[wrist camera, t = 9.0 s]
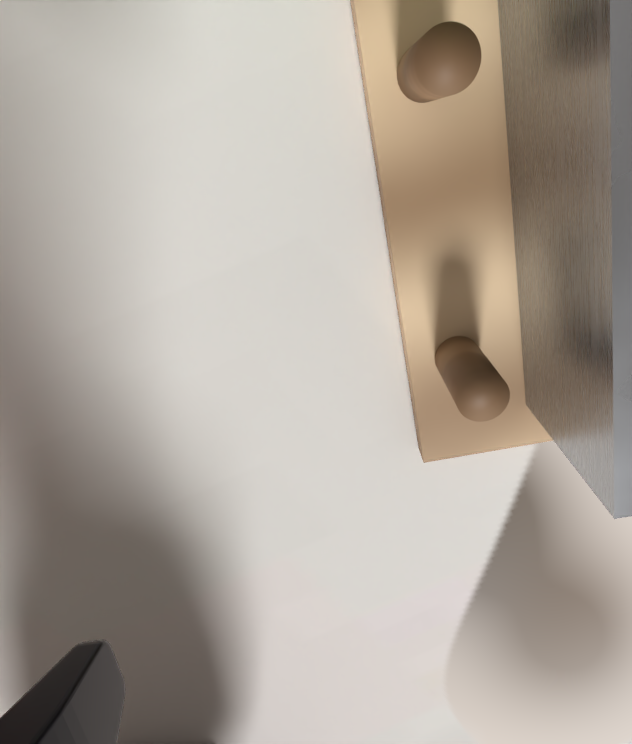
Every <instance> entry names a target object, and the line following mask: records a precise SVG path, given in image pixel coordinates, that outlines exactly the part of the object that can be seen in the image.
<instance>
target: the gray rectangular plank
mask: <svg viewBox="0 0 632 744" xmlns="http://www.w3.org/2000/svg"><path fill="white" fill-rule="evenodd" d="M498 15H499V29H500V43H501V57H502V72H503V86H504V100H505V114H506V129H507V143H508V157H509V171H510V186H511V200H512V214H513V228H514V243H515V257H516V271H517V285H518V300H519V314H520V328H521V342H522V357H523V371H524V385H525V399H526V406H527V407H528V408H529V410H530V411H531V412H532V413H533V415H534V416H535V417H536V419H537V420H538V421H539V422H540V424H541V425H542V426H543V428H544V429H545V430H546V431H547V433H548V434H549V435H550V437H551V438H552V439H553V440H554V442H555V443H556V444H557V445H558V447H559V448H560V449H561V451H562V452H563V453H564V454H565V456H566V457H567V458H568V460H569V461H570V462H571V464H572V465H573V466H574V467H575V468H576V470H577V471H578V473H579V474H580V475H581V476H582V478H583V479H584V480H585V482H586V483H587V484H588V485H589V487H590V488H591V489H592V491H593V492H594V493H595V494H596V496H597V497H598V498H599V499H600V501H601V502H602V503H603V505H604V506H605V507H606V509H607V510H608V511H609V512H610V514H611V515H612V516H613V518H614V519H616V518H622V517H628V516H632V0H498Z"/></svg>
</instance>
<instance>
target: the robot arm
mask: <svg viewBox="0 0 632 744" xmlns="http://www.w3.org/2000/svg"><path fill="white" fill-rule="evenodd" d="M124 699H125V683H124V678H123V676H122V673H121V670H120V668H119V665H118V663H117V660H116V658H115V655H114V653H113V650H112V648H111V646H110V644H109V643H108V642H107V641H106V640H95V641H88V642H82V643H79V644H78V645H76V646H75V647H74V648H73V649H72V650H71V651H70V652H68V653H67V654H66V655H65V656H64V657H63V658H62V659H61V660H60V661H59V662H58V663H57V664H56V665H55V666H54V667H53V668H52V669H51V670H50V671H49V672H48V673H47V674H46V675H44V676H43V677H42V678H41V679H40V680H39V681H38V682H37V683H36V684H35V685H34V686H33V687H32V688H31V689H30V690H29V691H28V692H27V693H26V694H25V695H24V696H23V697H22V698H20V699H19V700H18V701H17V702H16V703H15V704H14V705H13V706H12V707H11V708H10V709H9V710H8V711H7V712H6V713H5V714H4V715H3V716H2V717H1V718H0V744H117V740H118V734H119V728H120V722H121V716H122V710H123V705H124Z"/></svg>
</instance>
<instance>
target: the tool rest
mask: <svg viewBox="0 0 632 744" xmlns="http://www.w3.org/2000/svg"><path fill="white" fill-rule="evenodd" d="M350 1H351V8H352V14H353V21H354V27H355V34H356V40H357V47H358V54H359V60H360V67H361V73H362V80H363V86H364V93H365V99H366V106H367V112H368V119H369V126H370V132H371V139H372V145H373V152H374V158H375V165H376V171H377V178H378V184H379V191H380V197H381V204H382V211H383V217H384V224H385V230H386V237H387V243H388V250H389V256H390V263H391V269H392V276H393V283H394V289H395V296H396V302H397V309H398V315H399V322H400V328H401V335H402V341H403V348H404V354H405V361H406V368H407V374H408V381H409V387H410V394H411V400H412V407H413V413H414V420H415V426H416V433H417V440H418V446H419V450H420V453H421V456H422V459H423V462H424V463H425V462H430V461H436V460H442V459H448V458H454V457H460V456H465V455H471V454H477V453H483V452H489V451H495V450H500V449H506V448H512V447H518V446H524V445H530V444H535V443H541V442H547V441H553V439H552V438H551V437H550V435H549V434H548V433H547V431H546V430H545V429H544V428H543V426H542V425H541V424H540V422H539V421H538V420H537V419H536V417H535V416H534V415H533V413H532V412H531V411H530V410H529V408H528V407H527V406H526V399H525V385H524V371H523V357H522V342H521V328H520V314H519V300H518V285H517V271H516V257H515V243H514V228H513V214H512V200H511V186H510V171H509V157H508V143H507V129H506V114H505V100H504V86H503V72H502V57H501V43H500V29H499V15H498V0H350Z"/></svg>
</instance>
